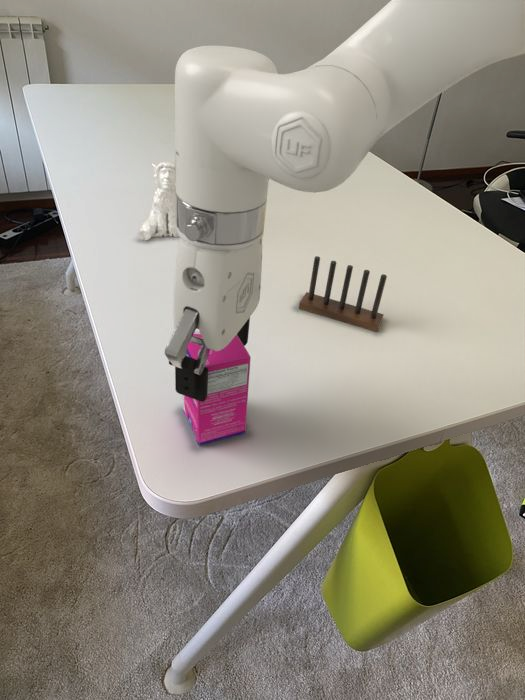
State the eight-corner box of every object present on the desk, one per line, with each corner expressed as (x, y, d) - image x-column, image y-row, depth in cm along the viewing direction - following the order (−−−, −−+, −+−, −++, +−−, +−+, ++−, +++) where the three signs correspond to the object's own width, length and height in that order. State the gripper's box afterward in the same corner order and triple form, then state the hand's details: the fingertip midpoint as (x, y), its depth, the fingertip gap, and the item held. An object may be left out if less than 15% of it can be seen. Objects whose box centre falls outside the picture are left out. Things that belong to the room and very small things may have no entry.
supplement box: (180, 411, 63) (179, 332, 56) (228, 399, 65) (233, 322, 58) (196, 447, 59) (197, 367, 52) (246, 434, 61) (254, 355, 54)
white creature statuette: (138, 241, 93) (134, 172, 86) (139, 218, 100) (135, 152, 92) (194, 241, 95) (195, 174, 87) (192, 219, 101) (192, 154, 94)
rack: (382, 320, 81) (395, 272, 76) (377, 332, 79) (390, 283, 73) (305, 298, 84) (312, 250, 79) (298, 308, 82) (305, 260, 76)
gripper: (215, 272, 39) (208, 435, 50) (296, 189, 52) (276, 333, 63) (124, 245, 41) (136, 407, 52) (224, 171, 54) (217, 314, 64)
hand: (213, 366), depth 57 cm, fingers open, 9 cm apart
